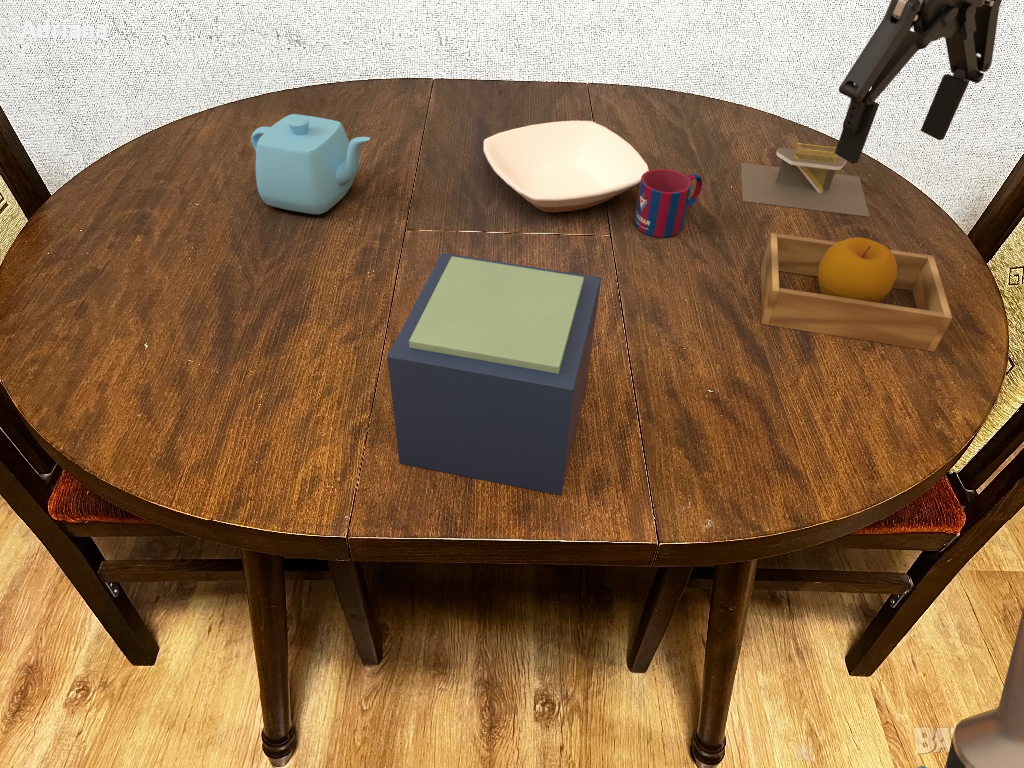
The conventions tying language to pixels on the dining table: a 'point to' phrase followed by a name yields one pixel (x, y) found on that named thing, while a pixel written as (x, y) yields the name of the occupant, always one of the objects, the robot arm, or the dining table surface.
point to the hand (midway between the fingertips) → (890, 146)
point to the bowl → (565, 164)
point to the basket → (851, 314)
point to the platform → (805, 182)
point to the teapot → (305, 163)
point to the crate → (490, 403)
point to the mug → (664, 201)
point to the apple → (857, 270)
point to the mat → (500, 314)
